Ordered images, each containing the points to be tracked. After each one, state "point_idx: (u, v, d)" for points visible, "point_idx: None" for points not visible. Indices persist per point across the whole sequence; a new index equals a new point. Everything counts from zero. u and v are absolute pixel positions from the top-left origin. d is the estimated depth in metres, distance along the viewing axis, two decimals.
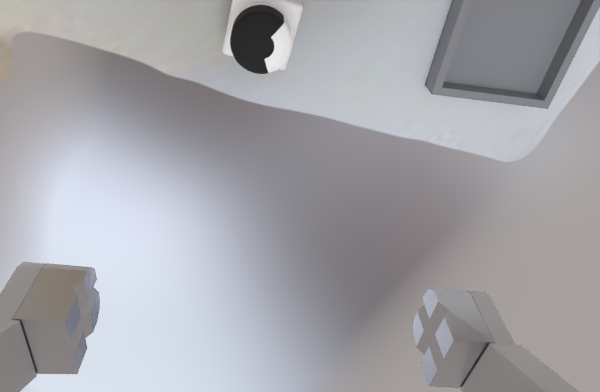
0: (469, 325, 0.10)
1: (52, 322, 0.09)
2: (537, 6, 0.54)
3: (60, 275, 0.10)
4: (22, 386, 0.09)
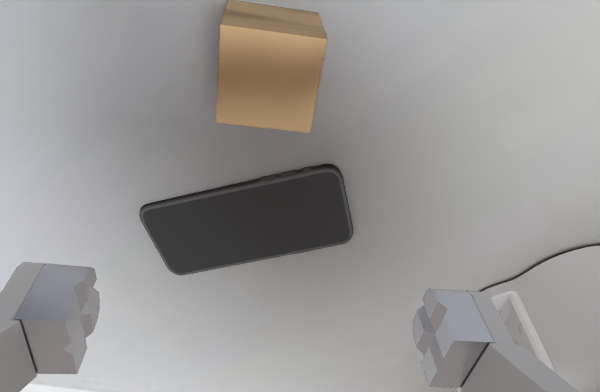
0: (469, 325, 0.10)
1: (52, 322, 0.09)
2: None
3: (60, 275, 0.10)
4: (22, 386, 0.09)
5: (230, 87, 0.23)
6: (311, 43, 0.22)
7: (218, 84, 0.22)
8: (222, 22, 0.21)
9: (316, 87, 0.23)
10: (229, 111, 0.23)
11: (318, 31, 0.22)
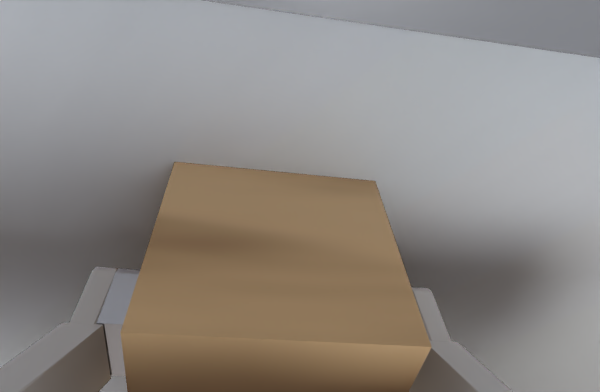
0: None
1: None
2: None
3: (134, 280, 0.10)
4: (99, 388, 0.10)
5: None
6: (385, 356, 0.08)
7: None
8: (131, 311, 0.07)
9: None
10: None
11: (397, 294, 0.08)
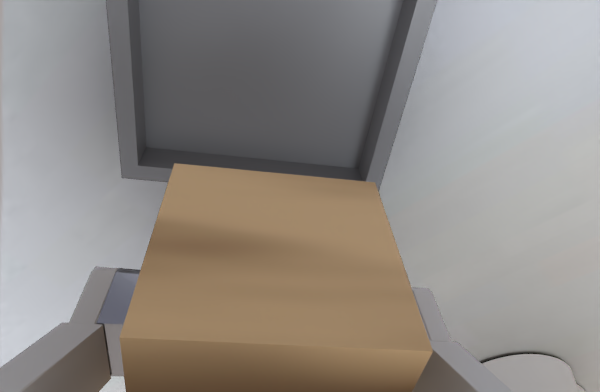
0: None
1: None
2: (228, 104, 0.28)
3: (134, 280, 0.10)
4: (99, 388, 0.10)
5: None
6: (386, 360, 0.08)
7: None
8: (130, 316, 0.07)
9: None
10: None
11: (398, 298, 0.08)
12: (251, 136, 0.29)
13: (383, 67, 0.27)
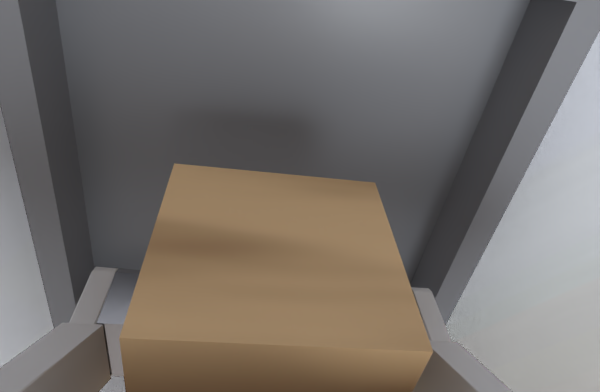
0: None
1: None
2: None
3: (134, 280, 0.10)
4: (99, 388, 0.10)
5: None
6: (387, 361, 0.08)
7: None
8: (129, 316, 0.07)
9: None
10: None
11: (398, 298, 0.08)
12: None
13: (451, 176, 0.18)
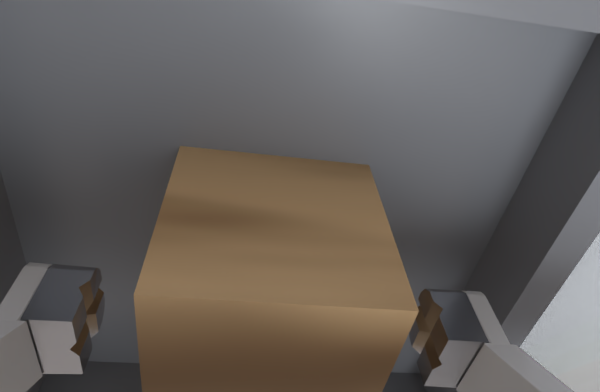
0: (464, 324, 0.10)
1: (59, 322, 0.09)
2: None
3: (66, 275, 0.10)
4: (28, 386, 0.09)
5: None
6: (376, 320, 0.08)
7: None
8: (142, 278, 0.08)
9: (380, 386, 0.10)
10: None
11: (388, 265, 0.09)
12: None
13: (483, 242, 0.14)
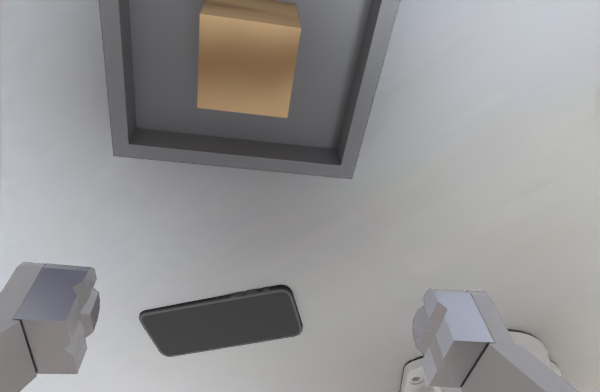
0: (469, 324, 0.10)
1: (52, 322, 0.09)
2: None
3: (60, 275, 0.10)
4: (22, 386, 0.09)
5: (210, 74, 0.24)
6: (286, 32, 0.23)
7: (199, 71, 0.24)
8: (202, 11, 0.22)
9: (292, 74, 0.24)
10: (210, 97, 0.25)
11: (293, 21, 0.24)
12: (235, 118, 0.31)
13: (357, 52, 0.29)
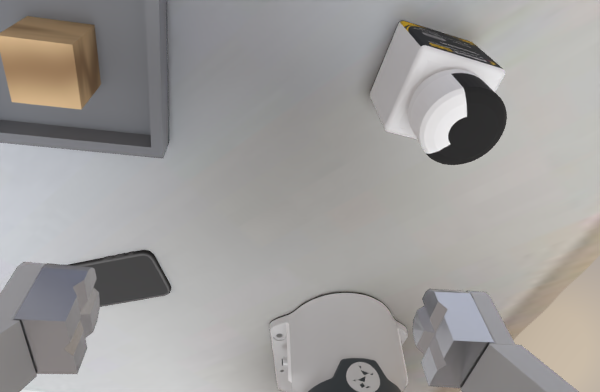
0: (469, 325, 0.10)
1: (52, 322, 0.09)
2: None
3: (60, 275, 0.10)
4: (22, 386, 0.09)
5: (15, 77, 0.33)
6: (62, 47, 0.32)
7: (6, 75, 0.33)
8: None
9: (75, 77, 0.33)
10: (19, 94, 0.34)
11: (73, 39, 0.33)
12: (69, 111, 0.40)
13: None
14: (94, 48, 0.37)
